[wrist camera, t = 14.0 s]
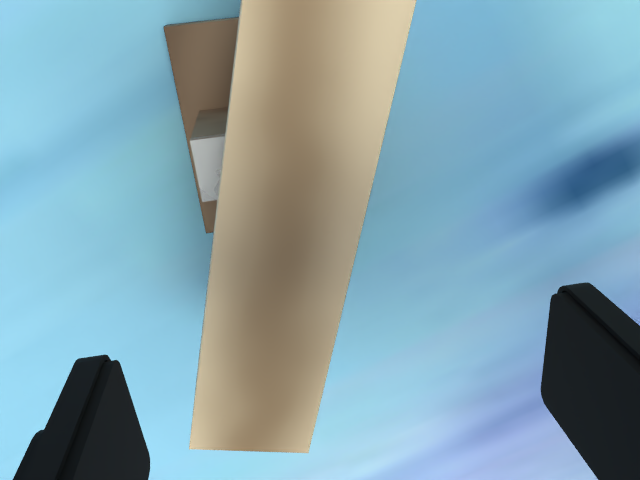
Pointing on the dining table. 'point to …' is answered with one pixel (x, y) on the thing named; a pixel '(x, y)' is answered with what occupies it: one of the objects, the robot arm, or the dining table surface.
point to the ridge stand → (204, 98)
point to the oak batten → (291, 211)
